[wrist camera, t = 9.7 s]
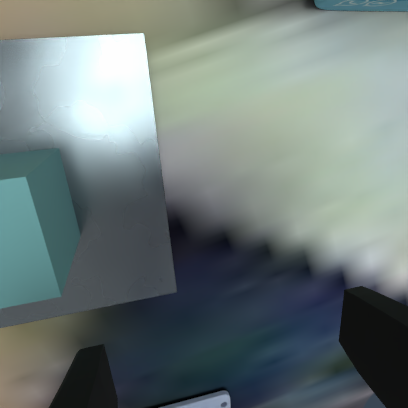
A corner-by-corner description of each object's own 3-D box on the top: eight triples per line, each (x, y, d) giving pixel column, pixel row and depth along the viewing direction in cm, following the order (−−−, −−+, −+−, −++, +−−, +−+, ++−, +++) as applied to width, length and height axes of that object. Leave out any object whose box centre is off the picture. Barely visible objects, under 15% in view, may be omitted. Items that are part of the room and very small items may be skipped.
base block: (170, 266, 19) (177, 292, 16) (-56, 309, 16) (-86, 345, 14) (141, 41, 14) (143, 33, 12) (-173, 58, 12) (-244, 52, 10)
